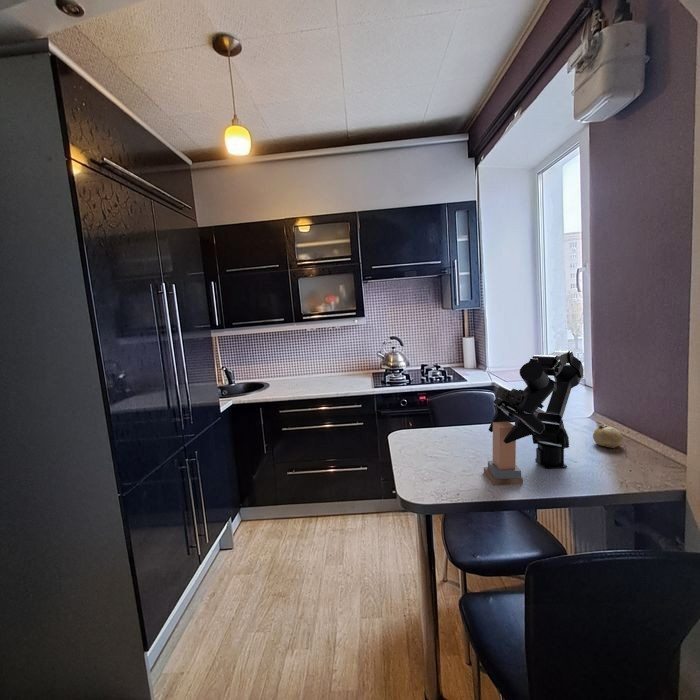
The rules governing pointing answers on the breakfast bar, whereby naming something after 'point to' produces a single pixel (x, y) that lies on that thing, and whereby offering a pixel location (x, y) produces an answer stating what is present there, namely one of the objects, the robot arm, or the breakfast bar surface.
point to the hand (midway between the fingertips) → (496, 436)
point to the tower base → (501, 481)
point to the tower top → (504, 472)
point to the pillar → (503, 446)
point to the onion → (607, 436)
